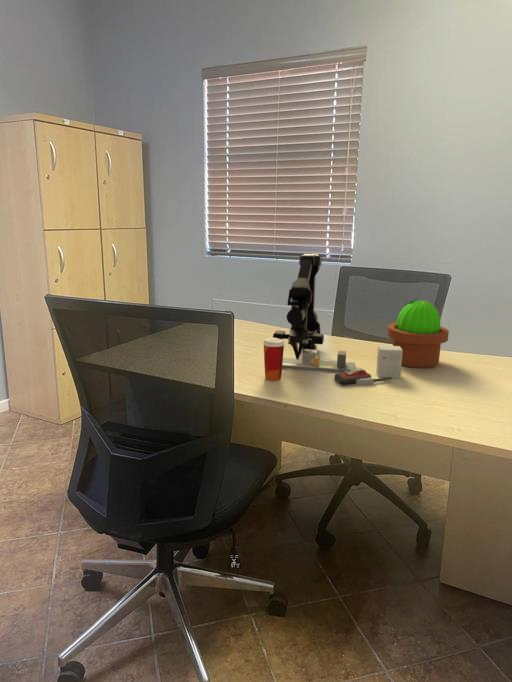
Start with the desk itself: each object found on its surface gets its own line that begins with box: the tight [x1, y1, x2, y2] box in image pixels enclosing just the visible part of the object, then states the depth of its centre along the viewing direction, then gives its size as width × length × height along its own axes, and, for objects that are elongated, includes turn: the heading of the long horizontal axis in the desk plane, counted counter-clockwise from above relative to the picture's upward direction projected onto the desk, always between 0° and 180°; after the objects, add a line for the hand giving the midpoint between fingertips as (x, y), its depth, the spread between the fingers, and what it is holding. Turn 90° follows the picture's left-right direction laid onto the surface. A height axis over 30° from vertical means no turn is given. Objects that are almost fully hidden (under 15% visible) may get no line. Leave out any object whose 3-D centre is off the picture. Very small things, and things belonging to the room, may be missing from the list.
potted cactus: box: [387, 299, 450, 369], centre depth 202 cm, size 22×22×25 cm
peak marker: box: [313, 356, 321, 366], centre depth 193 cm, size 2×2×3 cm
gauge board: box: [282, 350, 356, 374], centre depth 197 cm, size 10×30×6 cm, turn 79°
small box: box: [376, 345, 403, 379], centre depth 187 cm, size 8×6×10 cm
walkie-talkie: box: [334, 367, 393, 387], centre depth 182 cm, size 9×4×20 cm
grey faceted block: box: [301, 349, 318, 365], centre depth 196 cm, size 7×5×4 cm, turn 169°
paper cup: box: [262, 337, 286, 382], centre depth 182 cm, size 8×8×14 cm
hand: (297, 359), depth 198 cm, fingers closed
